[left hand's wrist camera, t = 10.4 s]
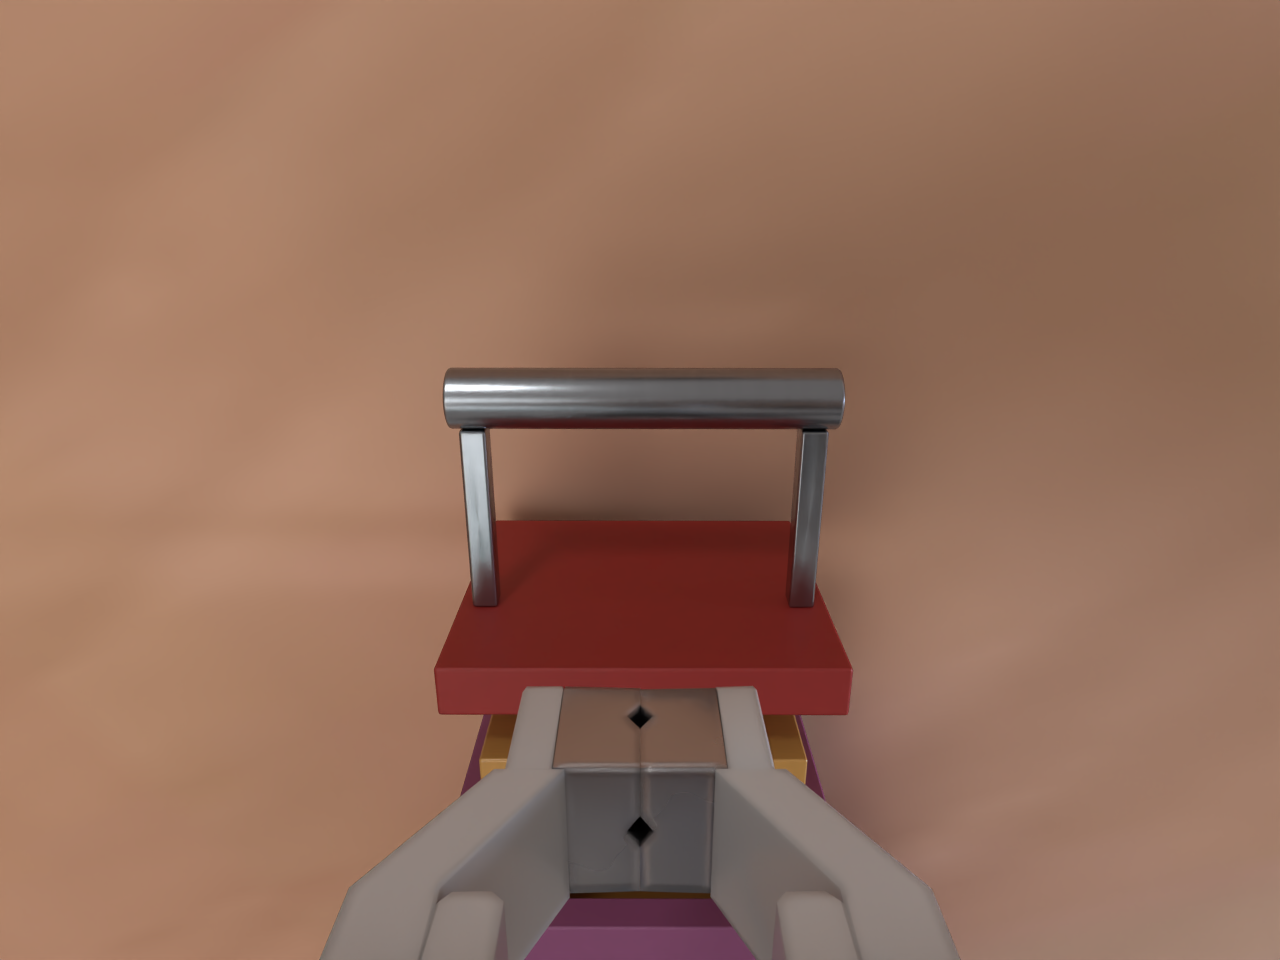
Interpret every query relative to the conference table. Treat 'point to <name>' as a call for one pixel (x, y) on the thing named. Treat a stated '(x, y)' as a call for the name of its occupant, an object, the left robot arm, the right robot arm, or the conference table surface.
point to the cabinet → (639, 912)
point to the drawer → (644, 561)
